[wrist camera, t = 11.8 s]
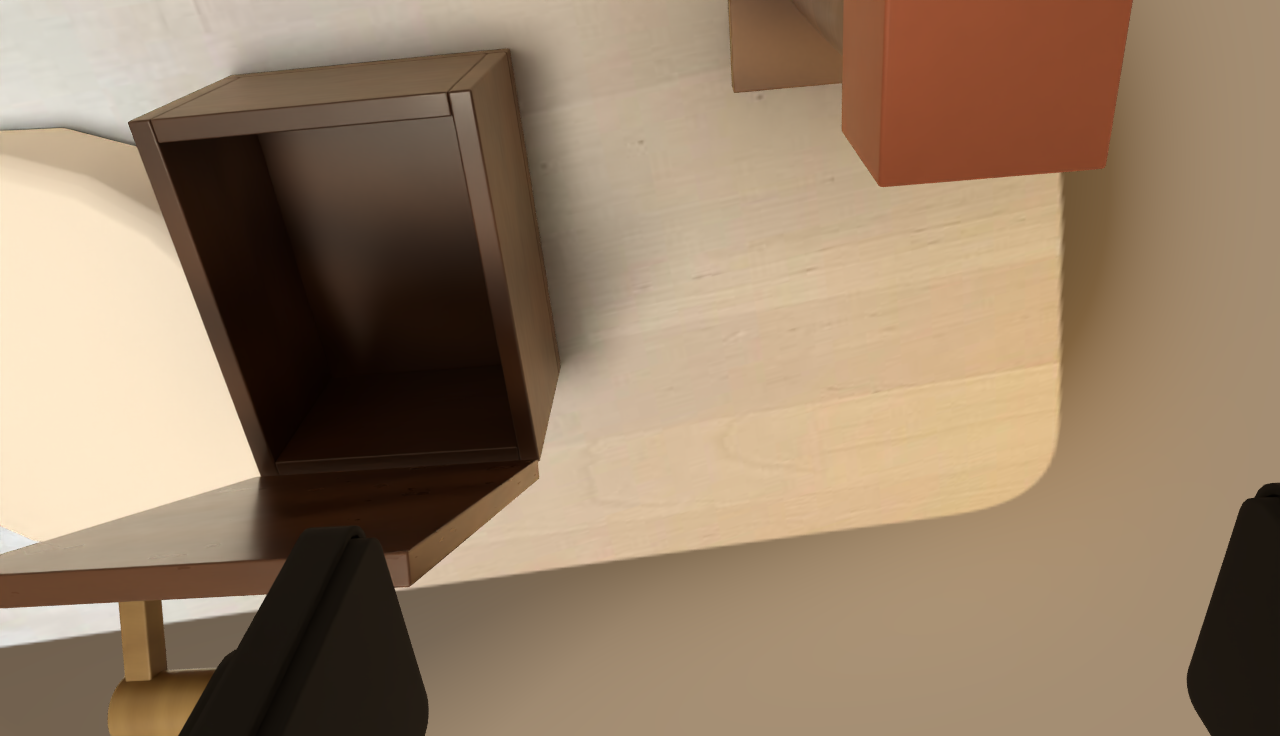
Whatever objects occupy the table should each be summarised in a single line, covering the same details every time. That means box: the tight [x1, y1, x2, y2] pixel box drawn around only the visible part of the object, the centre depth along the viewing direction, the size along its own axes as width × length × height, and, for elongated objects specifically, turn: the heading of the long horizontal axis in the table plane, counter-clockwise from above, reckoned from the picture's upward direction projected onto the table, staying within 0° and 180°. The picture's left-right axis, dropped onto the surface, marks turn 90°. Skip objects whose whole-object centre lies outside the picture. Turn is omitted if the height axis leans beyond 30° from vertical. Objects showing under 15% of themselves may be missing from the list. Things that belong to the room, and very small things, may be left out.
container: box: [0, 128, 260, 542], centre depth 40 cm, size 20×20×5 cm
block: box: [842, 0, 1133, 187], centre depth 18 cm, size 4×4×4 cm
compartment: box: [128, 48, 561, 476], centre depth 35 cm, size 15×12×8 cm
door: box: [0, 459, 539, 736], centre depth 28 cm, size 15×12×5 cm
